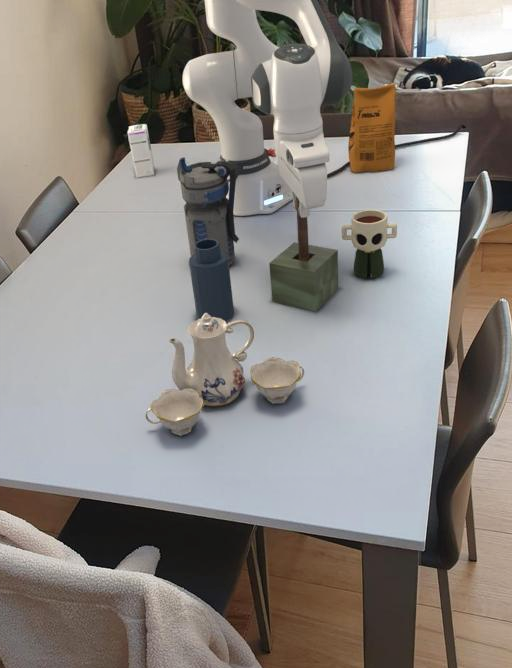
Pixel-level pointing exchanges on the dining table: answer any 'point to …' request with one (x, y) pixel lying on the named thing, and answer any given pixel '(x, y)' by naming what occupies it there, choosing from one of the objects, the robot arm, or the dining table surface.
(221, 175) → the beverage bottle
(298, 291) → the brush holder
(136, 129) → the syrup box
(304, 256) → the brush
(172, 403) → the chinaware
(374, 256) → the character mug
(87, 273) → the dining table surface
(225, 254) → the steel bottle
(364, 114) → the coffee package
